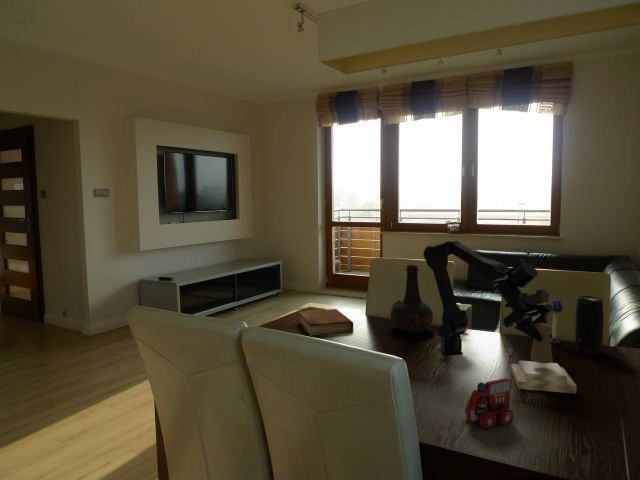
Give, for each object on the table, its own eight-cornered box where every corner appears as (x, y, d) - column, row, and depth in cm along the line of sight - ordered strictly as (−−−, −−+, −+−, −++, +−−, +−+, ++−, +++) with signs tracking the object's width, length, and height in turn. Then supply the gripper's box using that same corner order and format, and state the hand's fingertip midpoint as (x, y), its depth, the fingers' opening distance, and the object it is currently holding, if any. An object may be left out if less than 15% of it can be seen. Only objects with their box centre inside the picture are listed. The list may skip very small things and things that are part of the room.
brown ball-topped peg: (556, 359, 136) (557, 323, 135) (547, 364, 132) (549, 327, 131) (535, 354, 140) (536, 320, 139) (526, 359, 136) (527, 323, 135)
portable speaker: (582, 355, 159) (583, 300, 157) (569, 347, 168) (571, 294, 166) (608, 355, 158) (609, 300, 156) (594, 347, 167) (595, 294, 166)
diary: (353, 334, 191) (353, 320, 191) (310, 338, 187) (309, 324, 186) (338, 320, 213) (337, 308, 213) (299, 323, 209) (298, 311, 208)
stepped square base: (518, 388, 131) (518, 375, 131) (510, 370, 146) (511, 358, 145) (576, 393, 127) (576, 379, 127) (562, 374, 142) (562, 361, 141)
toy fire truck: (458, 420, 113) (458, 379, 112) (499, 411, 117) (499, 372, 116) (476, 433, 106) (477, 389, 106) (519, 424, 110) (519, 382, 110)
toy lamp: (558, 341, 175) (559, 298, 174) (564, 345, 170) (565, 301, 169) (545, 341, 175) (546, 298, 174) (550, 344, 171) (551, 301, 169)
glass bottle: (401, 322, 206) (401, 261, 204) (439, 328, 196) (439, 263, 194) (382, 331, 192) (382, 266, 190) (422, 338, 181) (423, 269, 179)
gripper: (513, 284, 132) (549, 330, 124) (547, 277, 143) (583, 319, 135) (488, 306, 139) (521, 350, 131) (523, 298, 150) (555, 339, 142)
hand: (546, 339), depth 134 cm, fingers closed on brown ball-topped peg, 5 cm apart
